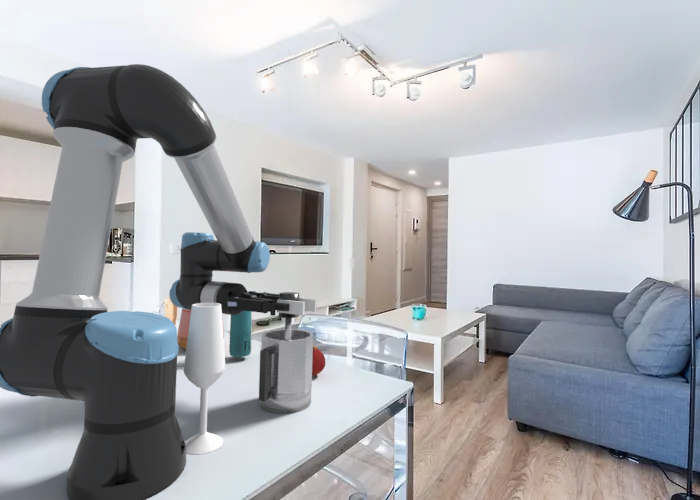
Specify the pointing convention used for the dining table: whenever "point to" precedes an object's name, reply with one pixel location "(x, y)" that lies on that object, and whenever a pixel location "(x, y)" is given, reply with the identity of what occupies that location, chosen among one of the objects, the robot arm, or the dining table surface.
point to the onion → (317, 361)
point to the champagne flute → (204, 367)
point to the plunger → (288, 317)
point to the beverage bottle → (240, 334)
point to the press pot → (286, 371)
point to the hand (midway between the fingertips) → (309, 306)
